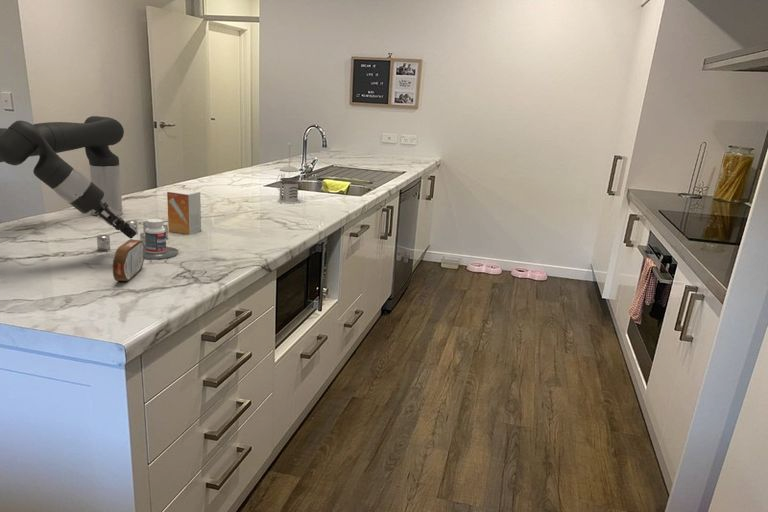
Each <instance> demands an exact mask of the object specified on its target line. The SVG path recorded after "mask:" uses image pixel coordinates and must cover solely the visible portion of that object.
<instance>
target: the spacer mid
mask: <svg viewBox="0 0 768 512" xmlns="http://www.w3.org/2000/svg"><path fill="white" fill-rule="evenodd" d="M142 227H143V228H142V231H143V232H142V233H145V230H146V228H148V226H147V221H143V222H142Z"/></svg>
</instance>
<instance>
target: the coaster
mask: <svg viewBox="0 0 768 512" xmlns="http://www.w3.org/2000/svg"><path fill="white" fill-rule="evenodd" d="M177 254H178V255H179V250H178V248H175V247H172V246H166V252H164V253H160V254H150V253H147V252H146V248H144V260H150V259H158V260H164V259H163V258H167V259H170V258H169V257H172V258H174V257H173V256H175V255H177ZM178 255H177V256H178ZM175 257H176V256H175Z"/></svg>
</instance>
